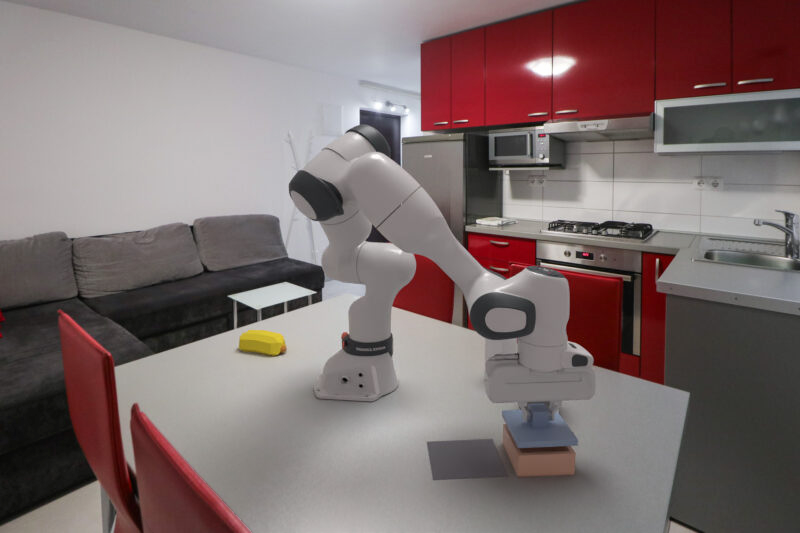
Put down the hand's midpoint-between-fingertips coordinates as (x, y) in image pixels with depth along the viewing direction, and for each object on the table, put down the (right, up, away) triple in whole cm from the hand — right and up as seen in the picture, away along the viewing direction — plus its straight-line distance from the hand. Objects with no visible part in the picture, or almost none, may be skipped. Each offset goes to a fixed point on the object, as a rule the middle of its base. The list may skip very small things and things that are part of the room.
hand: (537, 419), depth 86 cm
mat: (-14, -9, +2) cm, 17 cm away
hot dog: (-71, +2, +60) cm, 93 cm away
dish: (0, -9, +2) cm, 9 cm away
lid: (0, -2, 0) cm, 2 cm away
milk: (+1, -2, +36) cm, 36 cm away
